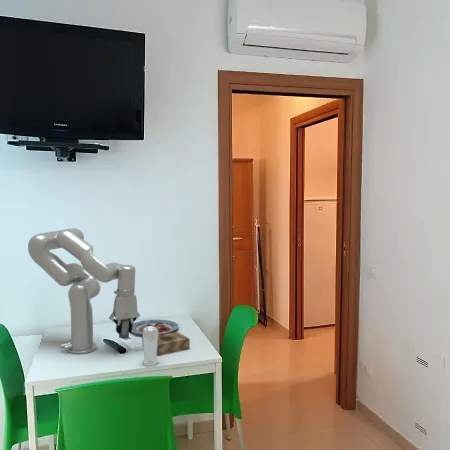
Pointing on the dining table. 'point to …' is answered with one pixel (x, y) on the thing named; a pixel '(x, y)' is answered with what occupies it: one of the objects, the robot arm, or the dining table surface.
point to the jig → (172, 343)
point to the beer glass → (150, 345)
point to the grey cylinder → (124, 328)
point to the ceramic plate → (162, 326)
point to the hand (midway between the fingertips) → (124, 332)
